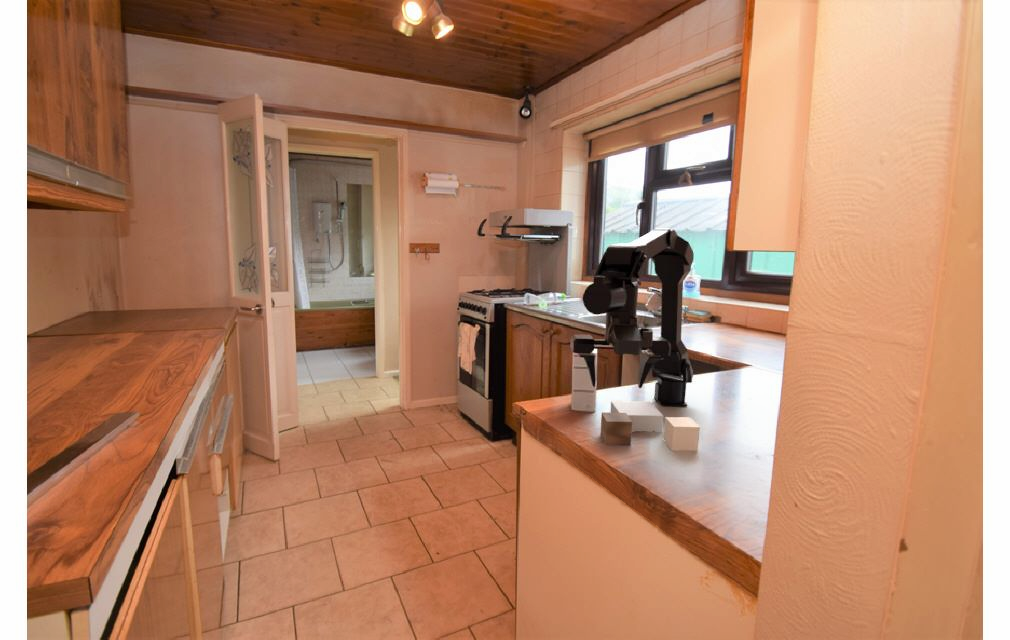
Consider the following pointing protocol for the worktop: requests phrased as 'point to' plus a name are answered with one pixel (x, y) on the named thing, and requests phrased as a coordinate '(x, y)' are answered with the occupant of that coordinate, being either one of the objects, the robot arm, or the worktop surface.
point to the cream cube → (681, 433)
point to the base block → (640, 414)
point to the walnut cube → (616, 428)
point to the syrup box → (583, 385)
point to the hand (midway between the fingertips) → (616, 386)
